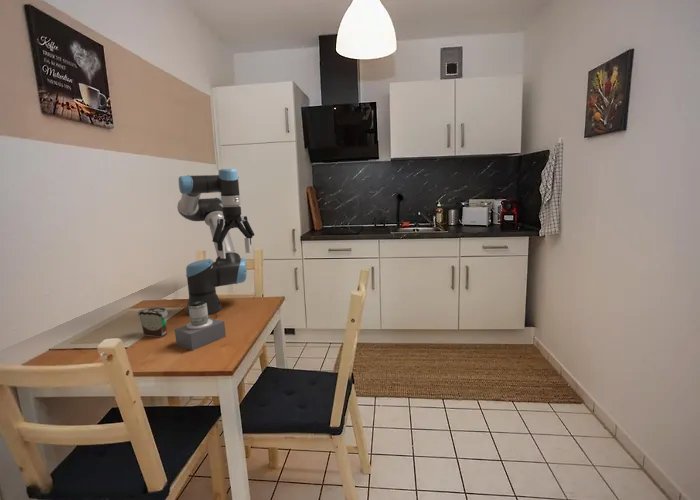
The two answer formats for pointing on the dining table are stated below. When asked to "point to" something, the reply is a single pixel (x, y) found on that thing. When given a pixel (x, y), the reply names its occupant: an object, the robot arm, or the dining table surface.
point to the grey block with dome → (200, 334)
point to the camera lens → (198, 313)
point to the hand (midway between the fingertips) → (236, 255)
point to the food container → (153, 321)
